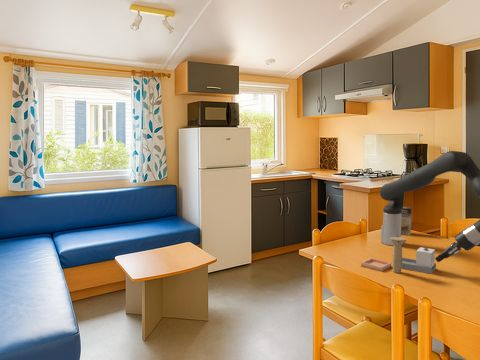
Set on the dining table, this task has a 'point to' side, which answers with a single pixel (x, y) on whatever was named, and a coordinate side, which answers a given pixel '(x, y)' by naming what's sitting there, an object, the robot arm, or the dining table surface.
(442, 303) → the dining table surface
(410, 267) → the blue-grey shallow bin
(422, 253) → the cover
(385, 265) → the tray
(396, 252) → the handle
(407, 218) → the coffee box
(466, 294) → the dining table surface
